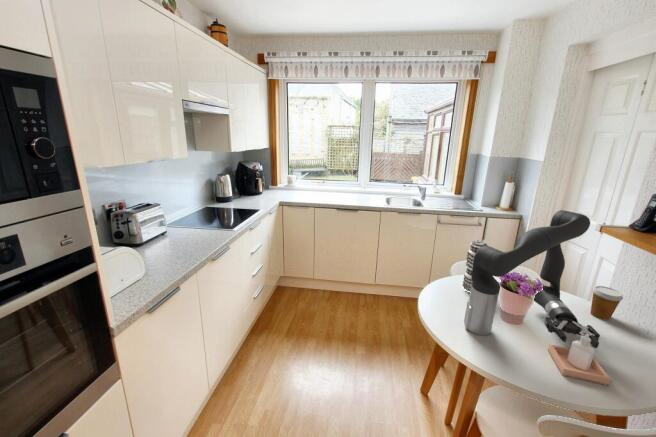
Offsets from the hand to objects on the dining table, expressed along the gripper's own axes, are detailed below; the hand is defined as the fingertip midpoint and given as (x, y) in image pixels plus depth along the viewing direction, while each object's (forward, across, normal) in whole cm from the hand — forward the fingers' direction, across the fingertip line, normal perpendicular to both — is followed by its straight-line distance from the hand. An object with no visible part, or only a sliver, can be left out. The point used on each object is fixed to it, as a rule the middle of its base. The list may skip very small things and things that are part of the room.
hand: (580, 342), depth 96 cm
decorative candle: (-42, -26, +9) cm, 50 cm away
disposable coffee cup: (-38, +24, +9) cm, 46 cm away
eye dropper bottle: (+1, 0, +8) cm, 8 cm away
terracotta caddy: (+1, 0, +8) cm, 8 cm away
